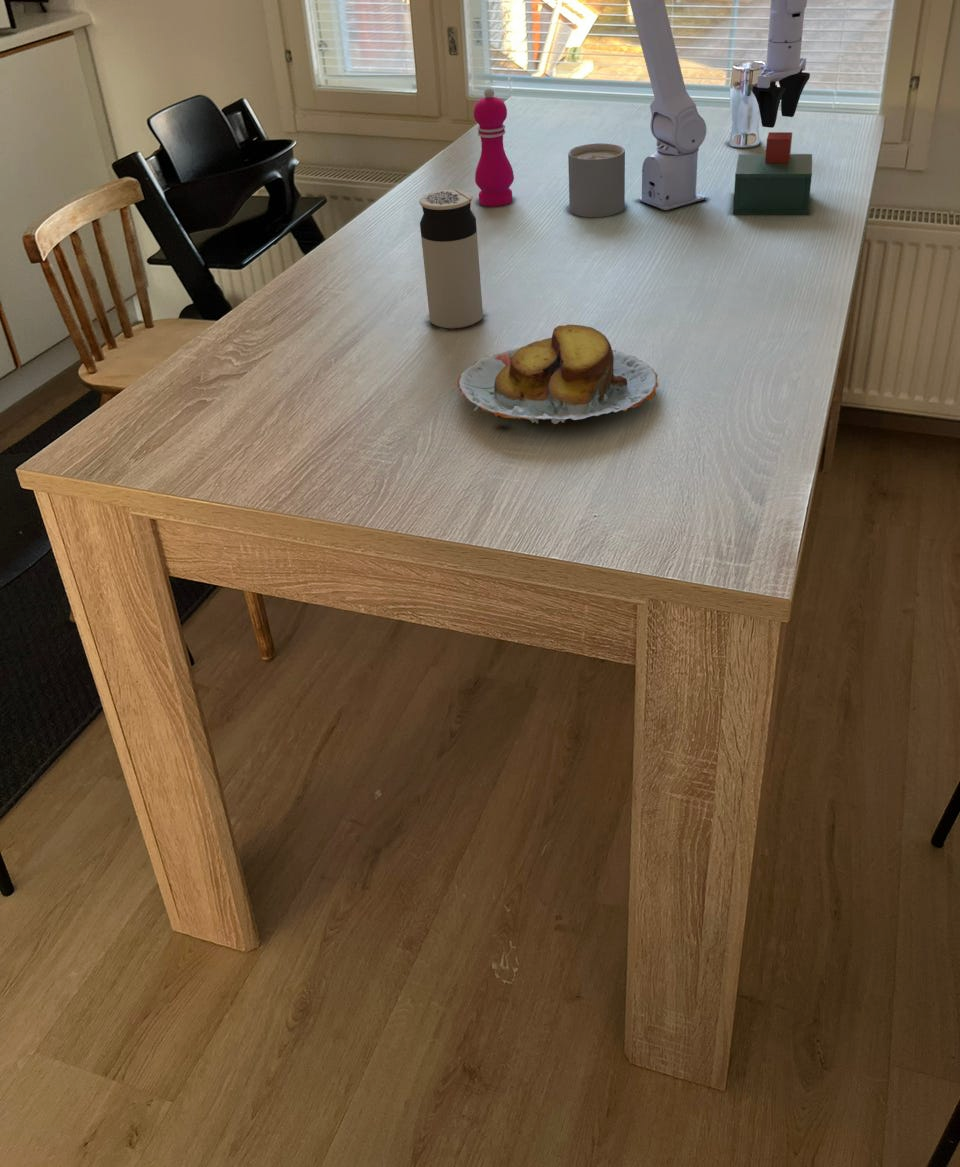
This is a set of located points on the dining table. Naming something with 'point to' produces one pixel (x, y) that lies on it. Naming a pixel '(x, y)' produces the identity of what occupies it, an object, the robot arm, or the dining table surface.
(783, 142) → the block
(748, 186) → the bin
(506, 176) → the pepper mill
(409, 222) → the dining table surface
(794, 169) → the bin lid
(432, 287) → the travel mug
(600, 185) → the coffee mug
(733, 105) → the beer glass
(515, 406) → the food on plate
